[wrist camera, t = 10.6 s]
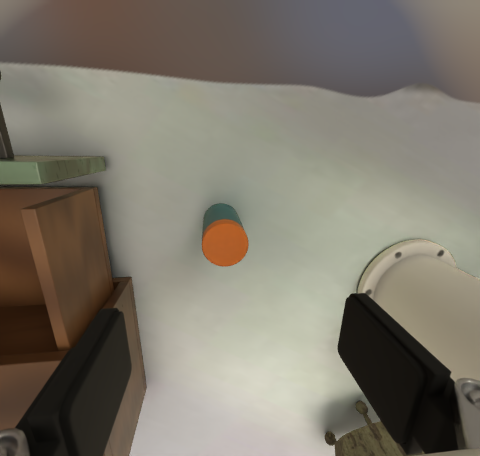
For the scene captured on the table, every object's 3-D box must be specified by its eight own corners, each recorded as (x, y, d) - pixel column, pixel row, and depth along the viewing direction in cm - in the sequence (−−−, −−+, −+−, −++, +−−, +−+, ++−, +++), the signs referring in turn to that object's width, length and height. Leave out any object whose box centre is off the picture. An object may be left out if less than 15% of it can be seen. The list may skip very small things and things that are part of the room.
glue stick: (238, 203, 25) (249, 222, 18) (237, 236, 26) (247, 265, 20) (202, 203, 25) (201, 223, 18) (204, 236, 26) (202, 267, 19)
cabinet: (-24, 283, 24) (-192, 381, 14) (131, 276, 26) (82, 359, 16) (18, 399, 29) (-84, 535, 19) (146, 387, 31) (116, 504, 21)
